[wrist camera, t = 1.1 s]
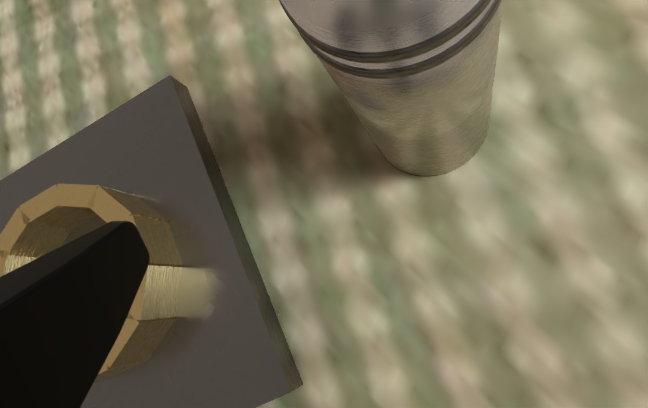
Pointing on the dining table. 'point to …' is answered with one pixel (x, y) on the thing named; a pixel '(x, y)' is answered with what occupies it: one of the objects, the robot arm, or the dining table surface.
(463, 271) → the dining table surface
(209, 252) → the tube holder stand
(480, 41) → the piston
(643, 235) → the dining table surface
